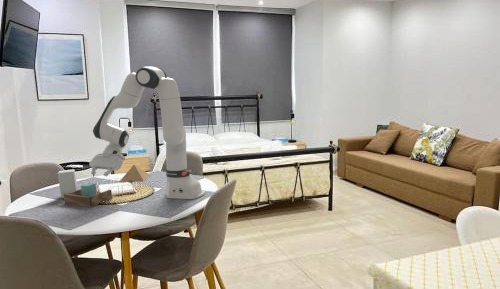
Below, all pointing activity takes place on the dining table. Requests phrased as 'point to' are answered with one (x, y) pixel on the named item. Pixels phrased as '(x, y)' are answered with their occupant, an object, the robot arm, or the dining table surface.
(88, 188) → the teal block
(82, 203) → the walnut crate
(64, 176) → the skincare box
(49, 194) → the dining table surface
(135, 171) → the model pyramid
